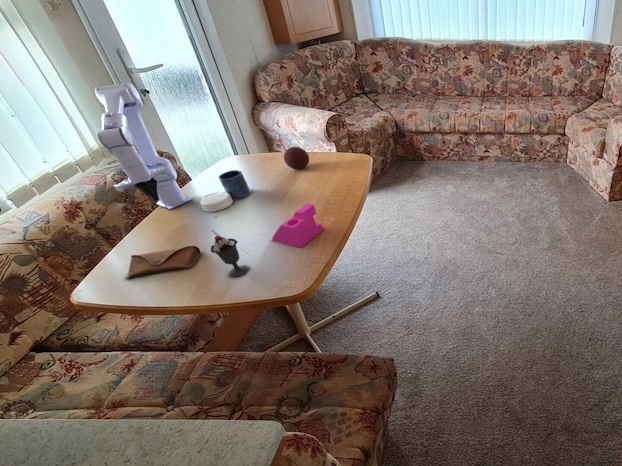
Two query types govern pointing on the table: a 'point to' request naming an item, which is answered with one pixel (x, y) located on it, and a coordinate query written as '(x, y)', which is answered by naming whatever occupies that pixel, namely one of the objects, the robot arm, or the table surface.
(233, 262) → the sundae
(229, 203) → the white round dish
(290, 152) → the decorative ball
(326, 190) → the table surface
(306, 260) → the table surface
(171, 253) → the sunglasses case
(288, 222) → the bracket
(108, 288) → the table surface
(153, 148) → the robot arm
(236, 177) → the cup
